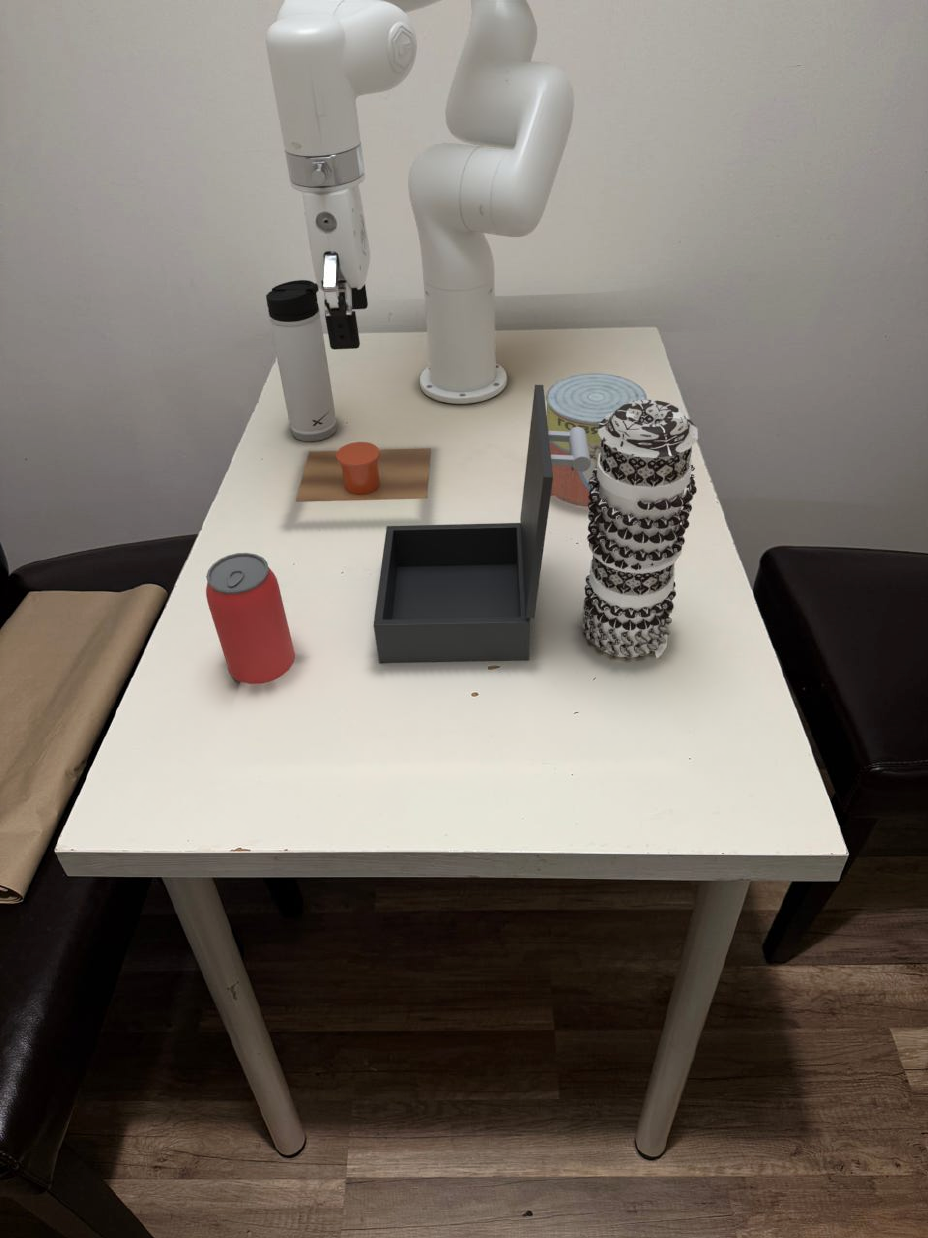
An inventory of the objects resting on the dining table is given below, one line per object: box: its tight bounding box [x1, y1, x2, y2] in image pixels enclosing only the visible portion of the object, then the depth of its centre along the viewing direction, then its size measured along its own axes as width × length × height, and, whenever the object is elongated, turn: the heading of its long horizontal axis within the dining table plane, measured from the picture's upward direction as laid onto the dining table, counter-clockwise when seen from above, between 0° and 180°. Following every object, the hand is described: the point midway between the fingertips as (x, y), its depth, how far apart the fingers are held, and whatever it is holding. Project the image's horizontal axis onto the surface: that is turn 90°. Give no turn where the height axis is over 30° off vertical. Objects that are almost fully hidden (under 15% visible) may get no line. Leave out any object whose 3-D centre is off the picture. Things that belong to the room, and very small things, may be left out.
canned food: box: [545, 372, 648, 508], centre depth 105 cm, size 11×11×12 cm
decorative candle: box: [581, 398, 699, 660], centre depth 81 cm, size 9×9×25 cm
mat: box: [295, 447, 432, 503], centre depth 111 cm, size 16×16×1 cm
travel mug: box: [265, 279, 338, 442], centre depth 115 cm, size 6×7×20 cm
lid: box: [519, 384, 591, 619], centre depth 83 cm, size 16×16×5 cm
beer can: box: [205, 552, 296, 685], centre depth 84 cm, size 7×7×12 cm
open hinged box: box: [373, 522, 531, 664], centre depth 91 cm, size 15×16×6 cm
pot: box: [336, 441, 380, 495], centre depth 109 cm, size 5×5×5 cm
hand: (350, 327), depth 101 cm, fingers open, 9 cm apart
